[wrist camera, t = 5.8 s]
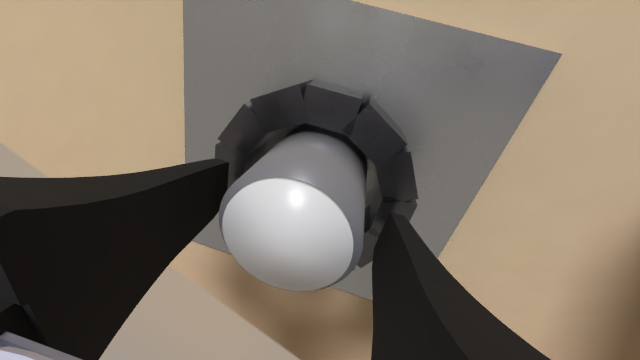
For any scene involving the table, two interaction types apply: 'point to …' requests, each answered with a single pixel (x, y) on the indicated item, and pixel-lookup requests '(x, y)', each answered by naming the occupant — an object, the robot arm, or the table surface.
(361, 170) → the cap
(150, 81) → the table surface
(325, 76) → the flat grey square plate
